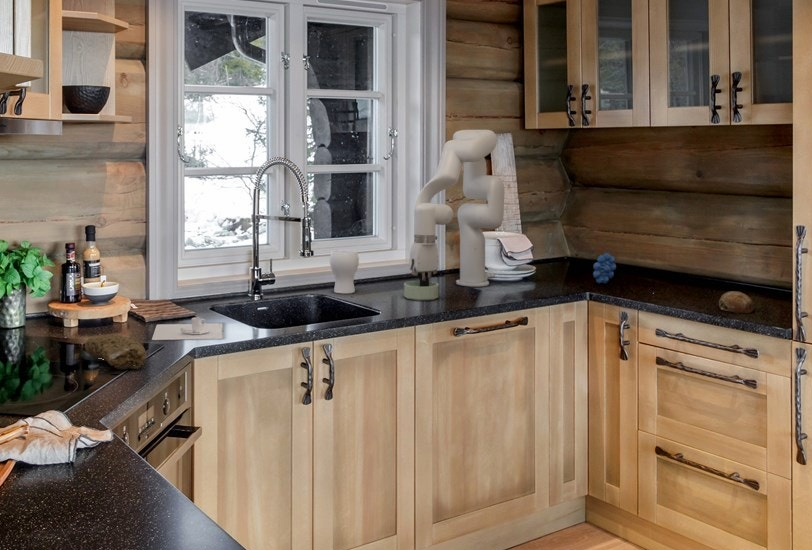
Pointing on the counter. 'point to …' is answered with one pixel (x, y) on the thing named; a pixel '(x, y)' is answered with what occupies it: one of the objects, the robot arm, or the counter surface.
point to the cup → (344, 269)
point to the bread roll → (736, 302)
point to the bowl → (421, 291)
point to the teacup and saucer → (188, 331)
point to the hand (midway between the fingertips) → (424, 290)
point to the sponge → (116, 350)
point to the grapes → (604, 268)
